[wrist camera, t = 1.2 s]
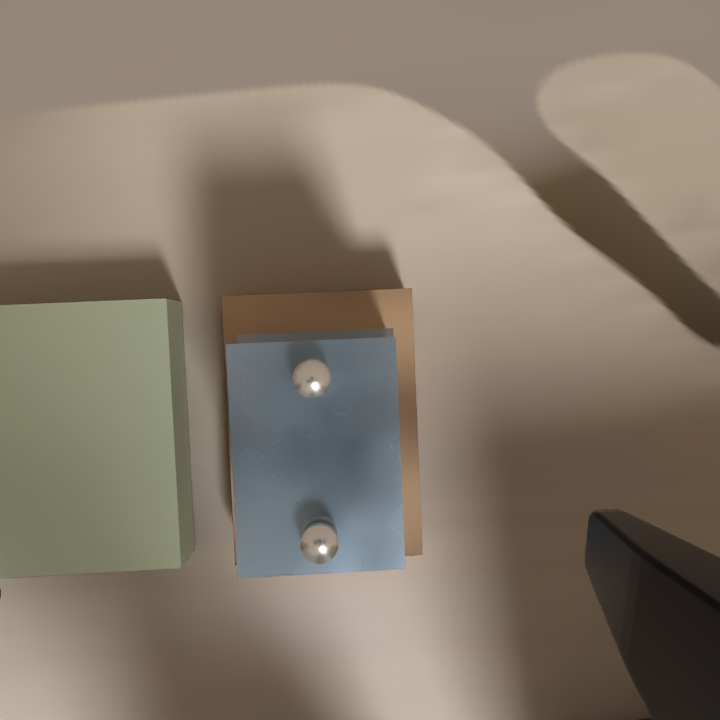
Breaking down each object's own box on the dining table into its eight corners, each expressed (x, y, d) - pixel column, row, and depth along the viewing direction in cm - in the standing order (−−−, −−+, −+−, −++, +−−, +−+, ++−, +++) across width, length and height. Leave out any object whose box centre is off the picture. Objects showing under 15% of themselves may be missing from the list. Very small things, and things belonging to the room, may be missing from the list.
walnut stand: (415, 536, 23) (422, 555, 21) (244, 546, 23) (235, 565, 21) (405, 292, 23) (411, 288, 21) (232, 300, 23) (221, 296, 21)
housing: (394, 517, 21) (415, 588, 15) (260, 524, 21) (226, 599, 15) (386, 330, 21) (404, 324, 15) (251, 336, 21) (212, 333, 15)
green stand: (194, 548, 23) (181, 568, 21) (-31, 561, 23) (-67, 582, 21) (181, 302, 23) (166, 298, 21) (-48, 311, 22) (-86, 308, 20)
